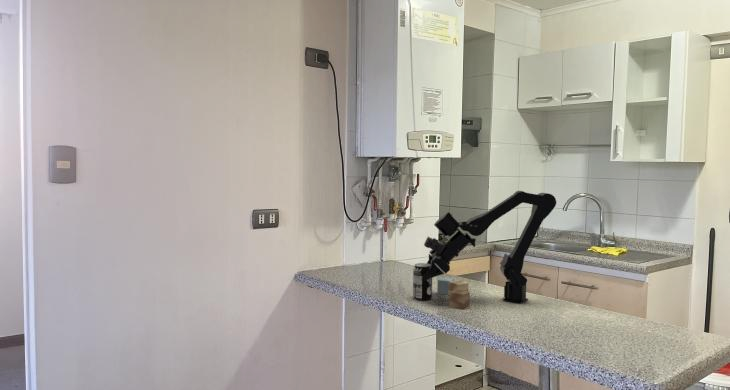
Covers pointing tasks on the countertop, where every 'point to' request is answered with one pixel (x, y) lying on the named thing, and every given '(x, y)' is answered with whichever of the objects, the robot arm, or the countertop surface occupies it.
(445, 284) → the slate block
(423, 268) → the beverage can
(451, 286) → the oak block
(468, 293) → the walnut block
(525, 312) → the countertop surface
